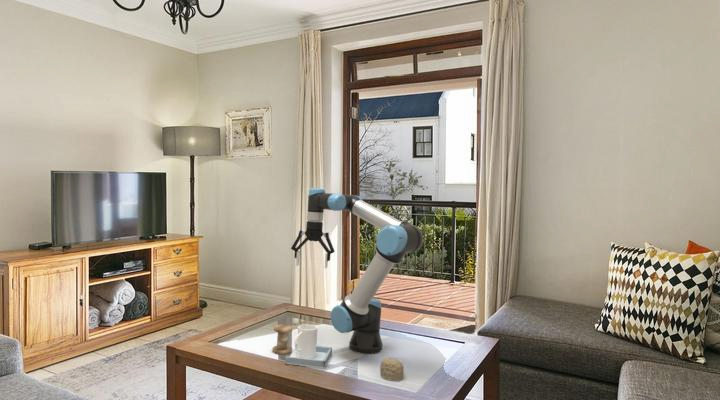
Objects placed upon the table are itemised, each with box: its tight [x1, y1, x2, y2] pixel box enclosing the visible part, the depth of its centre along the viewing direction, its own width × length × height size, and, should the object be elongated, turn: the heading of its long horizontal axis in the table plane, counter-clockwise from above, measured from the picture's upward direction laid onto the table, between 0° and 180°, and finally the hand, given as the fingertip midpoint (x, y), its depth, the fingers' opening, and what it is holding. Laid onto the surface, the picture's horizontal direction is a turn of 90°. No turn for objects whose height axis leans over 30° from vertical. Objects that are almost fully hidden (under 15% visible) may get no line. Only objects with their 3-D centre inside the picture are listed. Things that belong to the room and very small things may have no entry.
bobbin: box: [271, 324, 294, 355], centre depth 193 cm, size 8×8×10 cm
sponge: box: [379, 356, 405, 382], centre depth 174 cm, size 9×10×10 cm
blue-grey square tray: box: [284, 345, 333, 370], centre depth 186 cm, size 16×17×3 cm
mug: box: [294, 324, 318, 359], centre depth 186 cm, size 12×8×12 cm
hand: (311, 266), depth 209 cm, fingers open, 13 cm apart
